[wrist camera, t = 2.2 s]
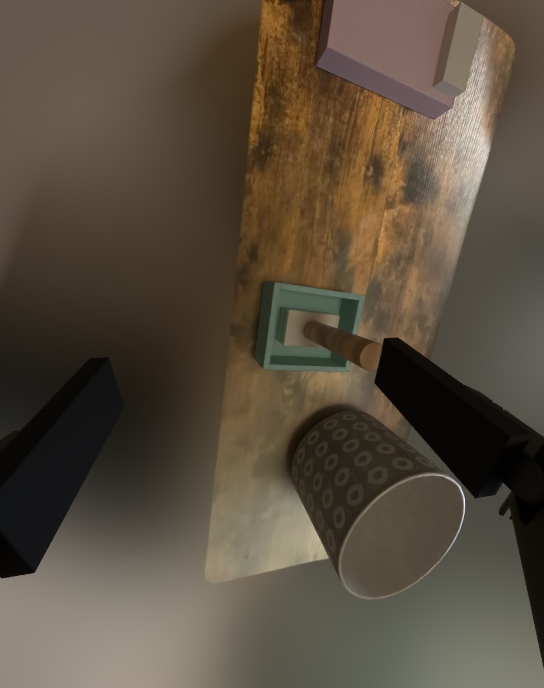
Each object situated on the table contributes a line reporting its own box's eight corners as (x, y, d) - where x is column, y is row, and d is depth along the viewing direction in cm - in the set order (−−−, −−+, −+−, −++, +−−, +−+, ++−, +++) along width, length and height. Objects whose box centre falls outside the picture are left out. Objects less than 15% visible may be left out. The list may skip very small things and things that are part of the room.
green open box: (254, 358, 40) (263, 369, 35) (263, 281, 37) (274, 282, 32) (331, 361, 44) (349, 372, 39) (344, 293, 41) (365, 295, 36)
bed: (315, 66, 32) (334, 34, 28) (329, -36, 30) (352, -87, 26) (434, 119, 39) (464, 100, 34) (453, 38, 37) (487, 7, 32)
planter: (276, 495, 48) (323, 615, 31) (295, 401, 44) (360, 479, 27) (362, 487, 54) (440, 583, 37) (385, 403, 50) (483, 468, 33)
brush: (275, 339, 39) (330, 380, 24) (280, 306, 38) (341, 327, 23) (322, 343, 42) (399, 382, 26) (327, 312, 40) (411, 334, 25)
